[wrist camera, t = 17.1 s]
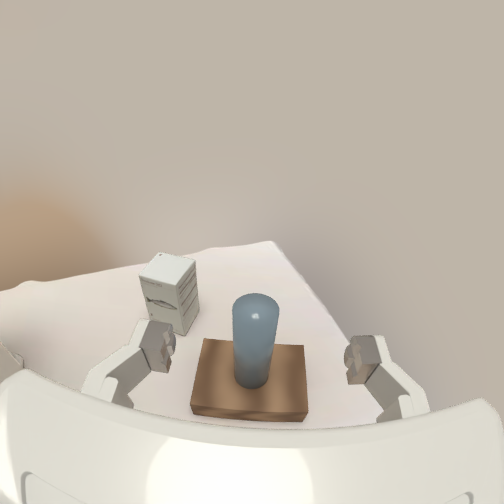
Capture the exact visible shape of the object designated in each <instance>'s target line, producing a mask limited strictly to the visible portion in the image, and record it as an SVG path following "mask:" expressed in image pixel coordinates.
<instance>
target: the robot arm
mask: <svg viewBox="0 0 504 504" xmlns="http://www.w3.org/2000/svg"><path fill="white" fill-rule="evenodd" d="M172 332H173V325H172V324H169V323H164V322H158V321H153V320H147V319H140V320H139V321H138V323H137V325H136V328H135V330H134V332H133V334H132V337H131V339H130V341H129V344H128V345H124V346H123V347H121V348H120V349H119V350H117V351H116V352H114V353H113V354H112V355H110V356H109V357H107V358H106V359H105V360H103V361H102V362H100V363H99V364H97V365H96V366H95V367H93V368H92V369H90V371H89V373H88V375H87V377H86V380H85V382H84V384H83V387H82V389H81V391H80V392H79V391H77V390H74V389H72V388H69V387H67V386H64V385H62V384H60V383H57V382H55V381H53V380H50V379H48V378H46V377H44V376H42V375H40V374H38V373H36V372H34V371H32V370H29V369H23V358H22V357H21V356H20V355H18V354H13V353H10V352H9V351H8V350H7V349H6V348H5V346H4V345H3V344H2V343H1V342H0V504H504V432H503V427H502V423H501V419H500V416H499V414H498V412H497V410H496V409H495V408H494V407H493V406H492V405H490V404H489V403H488V402H487V401H486V400H484V399H483V398H475V399H472V400H469V401H467V402H464V403H461V404H458V405H454V406H451V407H448V408H444V409H441V410H437V411H433V412H430V409H429V405H428V402H427V398H426V395H425V392H424V390H423V389H422V388H421V387H420V386H419V385H418V384H417V383H416V382H415V381H414V380H413V379H411V378H410V377H409V376H408V375H407V374H406V373H405V372H404V371H403V370H402V369H401V368H400V367H399V366H398V365H397V364H396V363H392V361H391V358H390V354H389V352H388V349H387V345H386V342H385V339H384V337H383V336H382V335H376V336H372V335H368V336H353V337H352V338H351V340H350V345H349V346H347V347H346V350H345V353H344V363H345V366H346V367H347V368H348V371H347V373H346V374H347V380H348V385H353V384H364V385H365V387H366V388H367V389H368V390H369V392H370V393H371V394H372V396H373V397H374V398H375V399H376V401H377V402H378V403H379V405H380V406H381V407H382V408H383V410H384V411H383V412H382V413H381V414H380V415H379V416H378V417H377V418H376V421H377V423H374V424H366V425H358V426H349V427H338V428H323V429H257V428H242V427H231V426H221V425H213V424H206V423H199V422H192V421H186V420H181V419H175V418H170V417H165V416H161V415H156V414H152V413H148V412H143V411H139V410H136V409H133V407H134V404H133V402H132V400H131V399H130V398H129V396H128V395H127V394H128V393H129V392H130V391H131V390H132V389H133V388H134V387H135V386H137V385H138V384H139V383H140V382H141V381H142V380H143V379H144V378H145V377H146V376H147V375H148V374H149V373H150V372H151V371H157V372H163V373H168V372H169V369H170V365H171V358H170V356H172V355H173V354H174V351H175V346H176V338H175V335H174V334H173V333H172Z"/></svg>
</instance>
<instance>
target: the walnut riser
mask: <svg viewBox="0 0 504 504" xmlns="http://www.w3.org/2000/svg"><path fill="white" fill-rule="evenodd" d="M190 406H191V409H192V411H193V414H196V415H202V416H210V417H218V418H227V419H238V420H251V421H273V422H303V420H304V418H305V417H306V415H307V413H308V398H307V383H306V369H305V357H304V345H283V344H274V348H273V354H272V360H271V366H270V372H269V377H268V380H267V382H266V383H265V384H264V385H263V386H262V387H260V388H257V389H247V388H244V387H242V386H240V385H239V384H238V383H237V382H236V380H235V378H234V356H233V341H226V340H216V339H206V338H204V340H203V344H202V349H201V353H200V358H199V363H198V367H197V372H196V377H195V381H194V386H193V391H192V396H191V401H190Z"/></svg>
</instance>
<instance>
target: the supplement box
mask: <svg viewBox="0 0 504 504" xmlns="http://www.w3.org/2000/svg"><path fill="white" fill-rule="evenodd" d="M139 278H140V283H141V287H142V291H143V294H144V298H145V302H146V306H147V309H148V313H149V316H150V320H153V321H158V322H164V323H169V324H172V325H173V332H175V333H177V334H180V335H183V336H185V335H186V333H187V332H188V330H189V328H190V326H191V325H192V323H193V321H194V319H195V318H196V316H197V314H198V312H199V300H198V289H197V278H196V265H195V260H194V259H190V258H185V257H180V256H176V255H171V254H167V253H162V252H159V253H158V254H157V255H156V256H155V257H154V258H153V259H152V260H151V261H150V262H149V263H148V265H147V266H146V267H145V268H144V269H143V270H142V271H141V272H140V274H139Z"/></svg>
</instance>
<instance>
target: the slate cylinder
mask: <svg viewBox="0 0 504 504" xmlns="http://www.w3.org/2000/svg"><path fill="white" fill-rule="evenodd" d="M232 314H233V356H234V378H235V380H236V382H237V383H238V384H239V385H240V386H242V387H244V388H247V389H257V388H260V387H262V386H263V385H264V384H265V383H266V382H267V380H268V377H269V372H270V366H271V360H272V354H273V348H274V342H275V336H276V330H277V323H278V317H279V306H278V304H277V303H276V302H275V300H273V299H272V298H271V297H269V296H266V295H263V294H258V293H252V294H246V295H243V296H241V297H240V298H238V299H237V300H236V301H235V303H234V304H233V308H232Z"/></svg>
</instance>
